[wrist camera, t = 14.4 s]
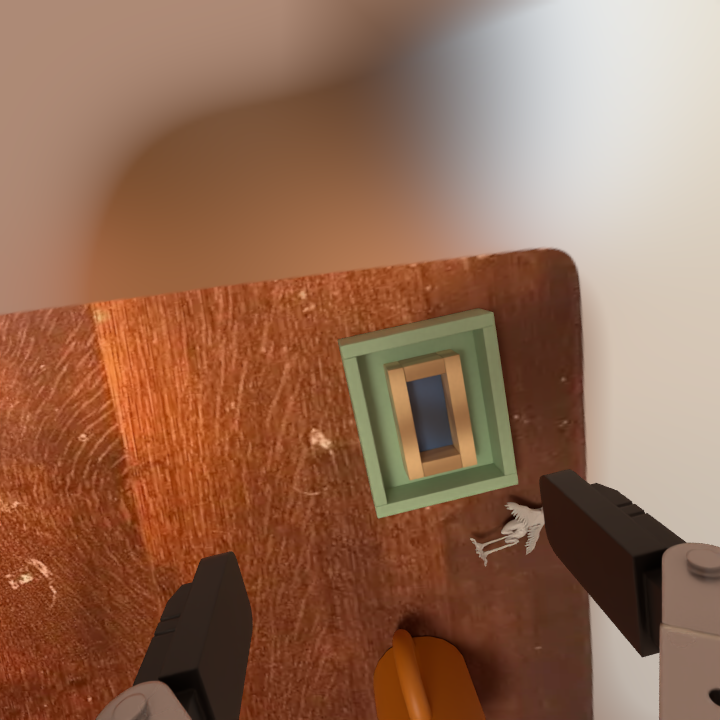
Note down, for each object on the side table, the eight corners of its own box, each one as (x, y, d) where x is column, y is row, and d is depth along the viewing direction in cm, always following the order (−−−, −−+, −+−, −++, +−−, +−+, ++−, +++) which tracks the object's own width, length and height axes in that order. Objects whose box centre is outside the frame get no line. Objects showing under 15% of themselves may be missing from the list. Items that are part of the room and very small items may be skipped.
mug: (457, 596, 43) (495, 681, 35) (470, 704, 46) (508, 809, 37) (360, 616, 43) (373, 708, 34) (378, 724, 45) (394, 836, 36)
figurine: (482, 569, 43) (556, 526, 43) (494, 586, 41) (571, 540, 41) (460, 521, 41) (537, 476, 41) (471, 535, 39) (552, 488, 40)
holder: (337, 339, 37) (339, 346, 34) (479, 307, 38) (493, 312, 35) (372, 499, 41) (377, 518, 38) (503, 467, 41) (518, 484, 38)
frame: (382, 363, 38) (387, 370, 35) (450, 348, 38) (459, 354, 36) (403, 468, 40) (409, 481, 37) (467, 452, 40) (477, 464, 38)
